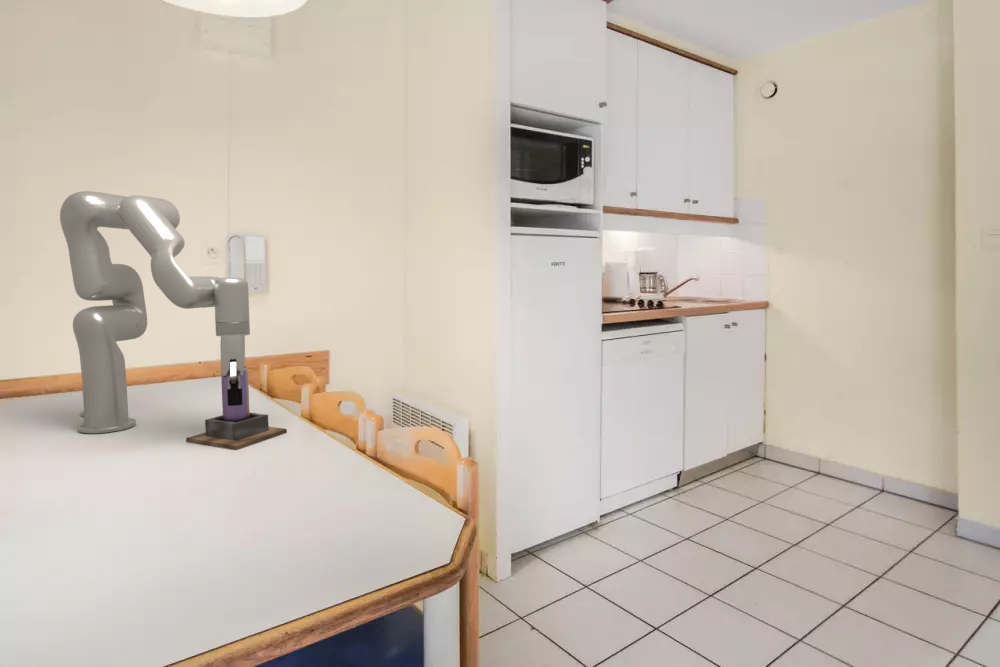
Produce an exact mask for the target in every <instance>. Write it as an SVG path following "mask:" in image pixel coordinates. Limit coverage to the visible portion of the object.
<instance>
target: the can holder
mask: <svg viewBox="0 0 1000 667" xmlns="http://www.w3.org/2000/svg"><path fill="white" fill-rule="evenodd" d="M249 415H250V419H247V420H243V421H240V422H229V421H223V414H222V415H219V416H215V417H211V418H207V419H205V420H204V423H205V424H204V426H205V427H204V428H205V432H201V433H198V434H195V435H192V436H188V437H186V438H185V440H186V441H185V442H186V443H191V444H198V445H202V446H208V447H213V448H214V447H215V448H220V449H228V450H232V451H233V450H234V451H237V450H241V449H244V448H246V447H250V446H253V445H255V444H258V443H261V442H264V441H267V440H270V439H272V438H275V437H278V436H282V435H284V434H287V433H288V431H287V428H282V427H275V426H269V414H264V413H256V412H249Z"/></svg>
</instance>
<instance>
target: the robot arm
mask: <svg viewBox="0 0 1000 667" xmlns="http://www.w3.org/2000/svg"><path fill="white" fill-rule="evenodd" d="M59 212H60V213H59V221H60V226H61V230H62V233H63V235H64V237H65V238H64V239H65V241H66V244H67V249H68V256H69V262H70V268H71V275H72V280H73V285H74V286H73V287H74V290H75V293H76V295H77V296H78V297H79V298H80V299H82V300H85V301H98V302H100V301H111V302H112V303H111V304H112V305H111V304H110V305H109V304H107V305H97V306H96V305H95V306H94V305H93V306H89V307H86V308H83V309H82V310H80V311H78V312H77V313H76V314H75V316H74V317H73V321H72V331H73V334H74V337H75V340H76V343H77V348H78V354H79V361H80V371H81V384H82V385H81V386H82V387H81V388H82V400H83V401H82V402H83V411H82V412H80V413H79V414H78V416H79V418H83V423H79V425H78V426H77V431H78V432H79V433H83V434H105V433H112V432H119V431H123V430H126V429H129V428H132V427H134V426H135V425H136V424H137V422H136V419H135V418H133V417H129V404H128V403H129V402H128V387H127V372H126V360H125V356H124V353H123V351H122V349H121V348H120V346H119V345H118V343H117V342H121V341H129V340H135V339H138V338H140V337H141V336H143V335H144V334H145V332H146V330H147V327H148V314H147V307H146V300H145V293H144V292H145V291H144V286H143V282H142V278H141V276H140V274H139V272H137V270H136V269H135V268H133V267H132V266H130V265H127V264H125V263H113V262H112V260H111V255H110V254H111V253H110V247H109V245H108V242H107V240H106V239H105V238H104V236H103V235H102V233H101V232H100V231H99V230H98V228H109V229H119V230H129V232H130V233H131V235H133V237H134V238H135V239H136V241H138V242H139V243H140V245H141V246H142V247H143V248H144V250H145V251H146V252H147V253H148V255H149V256H150V258H151V259H150V269H151V270H150V271H151V275H152V279H153V281H154V283H155V284H156V286H157V287H158V289H159V290H160V291H161V293H163V294H164V296H165V297H166V298H167V299H168V300H169V301H170V302H171V303H172V304H173V305H174V306H176V307H178V308H181V309H185V310H186V309H198V308H199V309H201V308H202V309H203V308H214V318H215V336H216V337H220V344H219V345H220V346H219V347H220V377H223V378H224V377H225V376H226V375H227V373H228V389H227V397H228V406H237V405H242V388H241V379H240V378H241V376H243V373H244V367H245V365H246V364H245V363H246V339H245V338H246V336H250V334H251V325H250V300H249V284H248V281H247V280H246V279H245V278H243V277H218V276H200V275H199V276H197V275H196V276H195V275H193V276H188V275H187V273H185V272H184V271H183V269H182V268H181V267H180V265H179V264H178V263H177V261H176V259H175V257H176V256H178V255H179V254H180V253H181V252H182V251H183V249H184V247H185V239H184V237H183V235H182V234H181V233H180V232H179V231H178V230H177V228H178V226H179V225H180V222H181V216H180V212H179V210H178V208H177V207H176V206H175V204H173V203H172V202H170V201H169V200H167V199H163V198H160V197H158V198H157V197H152V196H148V195H147V196H145V195H139V194H138V195H136V194H135V195H131V196H130V195H129V196H125V195H118V194H112V193H105V192H100V191H89V190H87V191H85V190H83V191H77V192H74V193H72V194H70V195H68V196H67V197H66V198H65V199H64V200H63V203H62V204H61V208H60V210H59ZM236 366H237V367H236ZM238 370H239V376H236V374H238ZM229 371H230V372H229ZM230 379H231V380H230Z"/></svg>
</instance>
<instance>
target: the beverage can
mask: <svg viewBox="0 0 1000 667" xmlns="http://www.w3.org/2000/svg"><path fill="white" fill-rule="evenodd" d="M236 367H237V366H236ZM229 372H230V371H229ZM236 376H239V370H238V374H236ZM220 377H221V376H220ZM240 379H241V388H242V405H237V406H228V397H227V389H228V373H227V375H226V376H225V377H224V378H223V377H221V403H222V404H221V405H222V415H223V421H229V422H240V421H243V420H247V419H250V415H249V413H250V393H249V392H250V391H249V390H250V389H249V370H248V367H247V366H245V367H244V373H243V376H241V378H240ZM230 380H231V379H230Z"/></svg>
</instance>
